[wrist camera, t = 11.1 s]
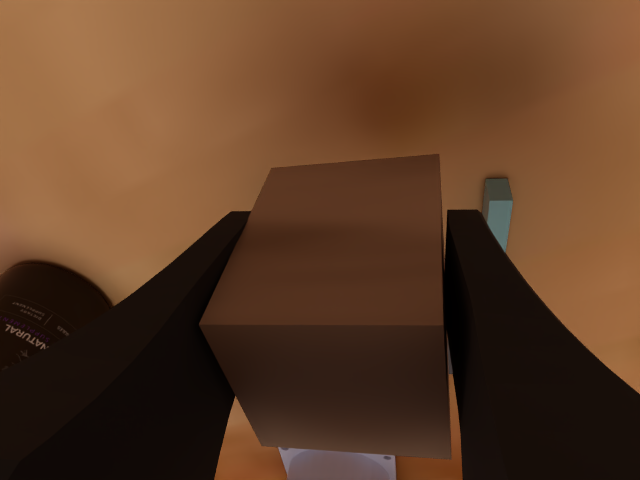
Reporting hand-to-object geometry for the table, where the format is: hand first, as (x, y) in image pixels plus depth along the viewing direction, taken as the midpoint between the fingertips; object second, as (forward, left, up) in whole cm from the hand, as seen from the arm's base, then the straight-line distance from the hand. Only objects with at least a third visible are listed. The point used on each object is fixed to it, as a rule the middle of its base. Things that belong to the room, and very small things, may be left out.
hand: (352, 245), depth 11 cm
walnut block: (-1, 0, -2) cm, 2 cm away
